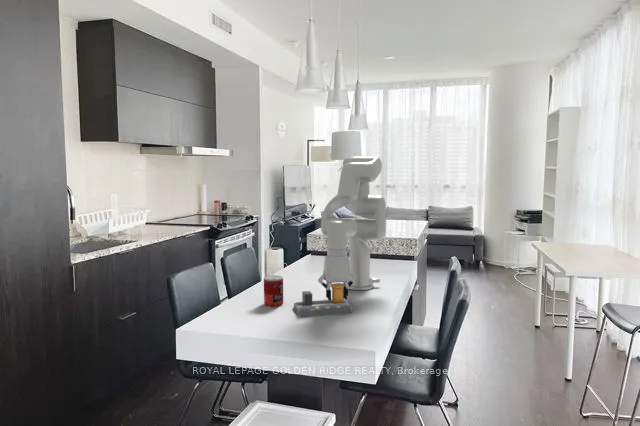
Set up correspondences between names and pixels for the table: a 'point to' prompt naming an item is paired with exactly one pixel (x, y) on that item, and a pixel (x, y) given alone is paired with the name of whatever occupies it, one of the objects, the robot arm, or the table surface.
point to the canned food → (273, 290)
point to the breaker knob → (306, 298)
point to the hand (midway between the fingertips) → (337, 298)
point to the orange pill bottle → (337, 293)
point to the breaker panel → (321, 308)
